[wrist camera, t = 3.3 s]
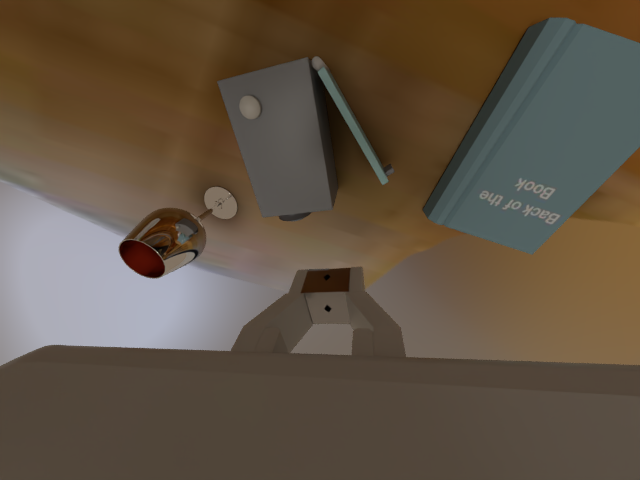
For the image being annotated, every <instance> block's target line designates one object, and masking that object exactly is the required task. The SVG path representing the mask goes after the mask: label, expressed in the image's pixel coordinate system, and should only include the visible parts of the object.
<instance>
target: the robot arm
mask: <svg viewBox="0 0 640 480" xmlns="http://www.w3.org/2000/svg"><path fill="white" fill-rule="evenodd" d="M326 323H327V324H351V326H352V328H353V330H354V331H353V341H352V355H328V354H299V353H290V352H291V351H292V350H293V348H294V347H295V346H296V345H297V343H298V342H299V341H300V340H301V339H302V337H303V336H304V335H305V334H306V332H307V331H308V330H309V329H310V328H311V326H312V324H326ZM0 480H640V365H619V364H589V363H562V362H559V363H558V362H532V361H501V360H473V359H444V358H415V357H406V354H405V349H404V344H403V338H402V332H401V328H400V327H399V326H398V324H396V322H395V321H394V320H393V319H392V318H391V317H390V316H389V315H388V314H387V313H386V312H385V311H384V310H383V309H382V308H381V307H380V306H379V305H378V304H377V303H376V302H375V301H374V299H373V298H372V297H371V296H370V295H369V294H368V293H367V292H365V286H364V276H363V268H362V267H351V268H339V269H309V270H298V271H297V273H296V275H295V278H294V280H293V283H292V286H291V288H290V291H289V293H288V294H285V295H283V296H282V297H281V298H280V299H278V300H277V301H276V302H274V303H273V304H272V305H270V306H269V307H268V308H267V309H265V310H264V311H263V312H261V313H260V314H259V315H258V316H256V317H255V318H254V319H252V320H251V321H250V322H249V323H247V324H246V325H245V326H244V327H243V328H242V330H241V332H240V334H239V336H238V338H237V340H236V342H235V344H234V345H233V347H232V349H231V351H209V350H178V349H149V348H121V347H93V346H66V345H49V346H44V347H42V348H39V349H36V350H34V351H32V352H29V353H27V354H25V355H23V356H20V357H18V358H16V359H14V360H12V361H10V362H8V363H6V364H3V365H2V366H0Z"/></svg>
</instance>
